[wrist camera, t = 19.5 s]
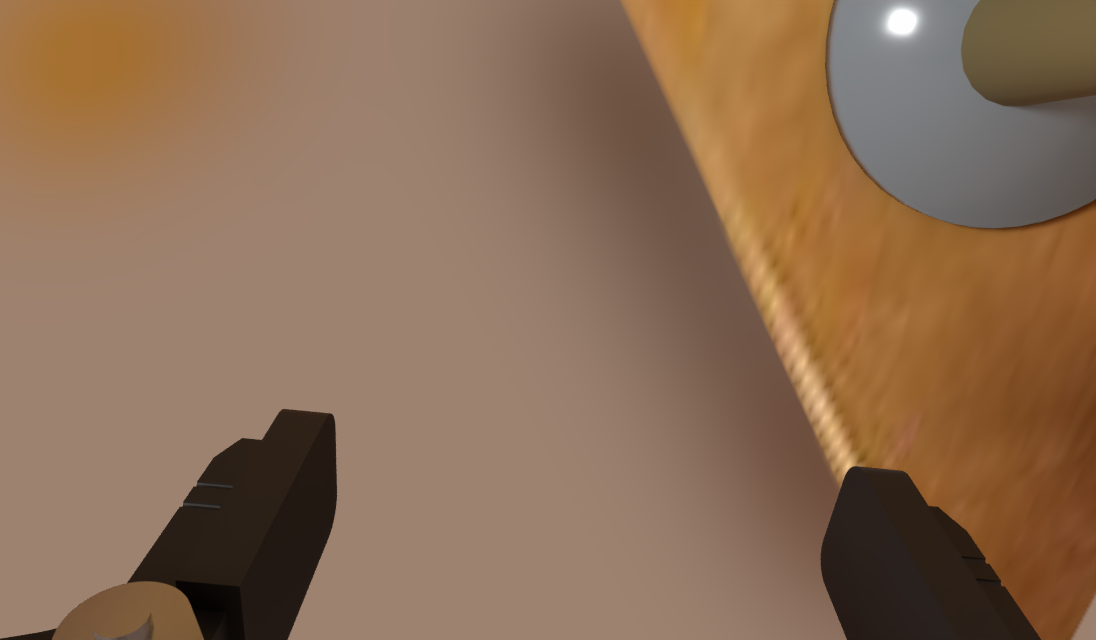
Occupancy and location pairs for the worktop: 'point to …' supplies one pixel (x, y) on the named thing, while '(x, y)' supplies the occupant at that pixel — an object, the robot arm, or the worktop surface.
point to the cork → (1031, 50)
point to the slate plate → (950, 121)
